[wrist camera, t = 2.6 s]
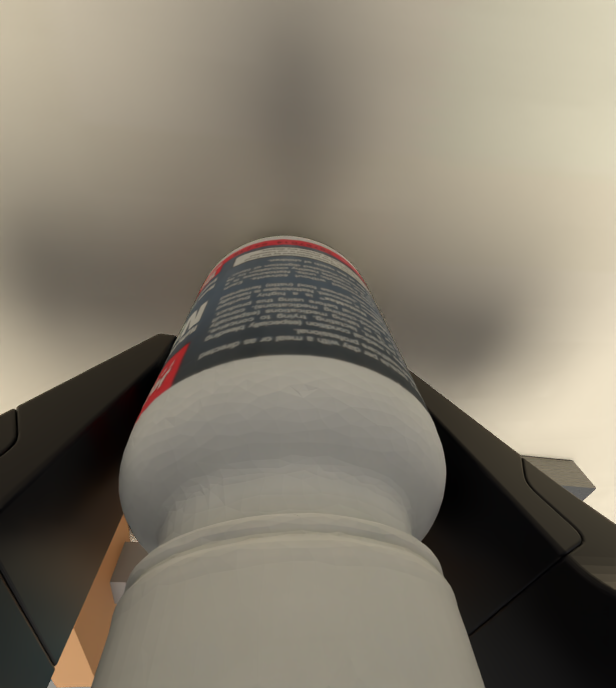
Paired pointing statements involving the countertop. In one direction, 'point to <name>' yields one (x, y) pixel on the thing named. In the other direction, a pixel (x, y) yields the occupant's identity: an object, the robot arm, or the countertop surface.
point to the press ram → (98, 612)
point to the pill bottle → (285, 495)
